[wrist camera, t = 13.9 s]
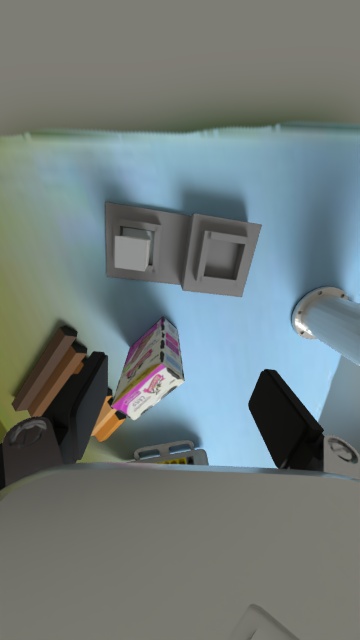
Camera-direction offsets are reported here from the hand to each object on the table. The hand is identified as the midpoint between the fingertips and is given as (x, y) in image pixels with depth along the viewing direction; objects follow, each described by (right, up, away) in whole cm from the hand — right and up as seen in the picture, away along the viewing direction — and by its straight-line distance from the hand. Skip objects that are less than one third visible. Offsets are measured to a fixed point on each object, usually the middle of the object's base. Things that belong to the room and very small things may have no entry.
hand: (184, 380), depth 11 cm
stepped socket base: (-1, +16, +23) cm, 29 cm away
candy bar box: (-6, 0, +31) cm, 31 cm away
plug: (-8, +16, +22) cm, 28 cm away
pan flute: (-23, -13, +35) cm, 44 cm away
